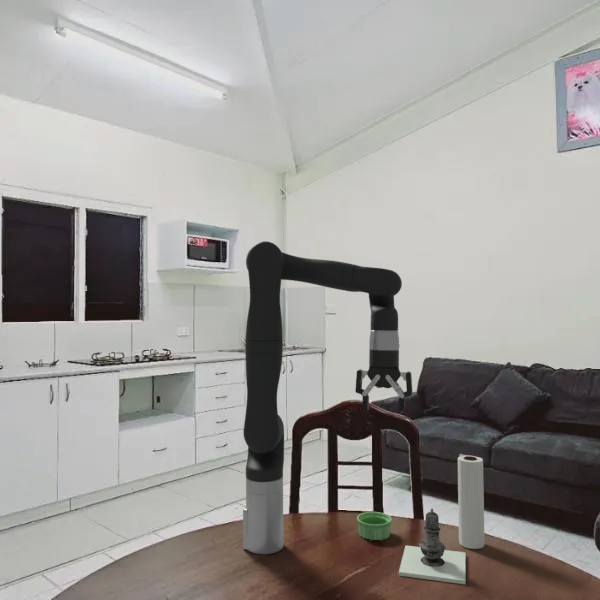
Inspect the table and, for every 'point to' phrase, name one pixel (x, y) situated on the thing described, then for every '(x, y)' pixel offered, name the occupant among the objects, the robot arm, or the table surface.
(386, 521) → the ramekin
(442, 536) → the table surface
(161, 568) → the table surface
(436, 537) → the salt shaker
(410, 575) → the sage tile
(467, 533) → the paper towel roll
